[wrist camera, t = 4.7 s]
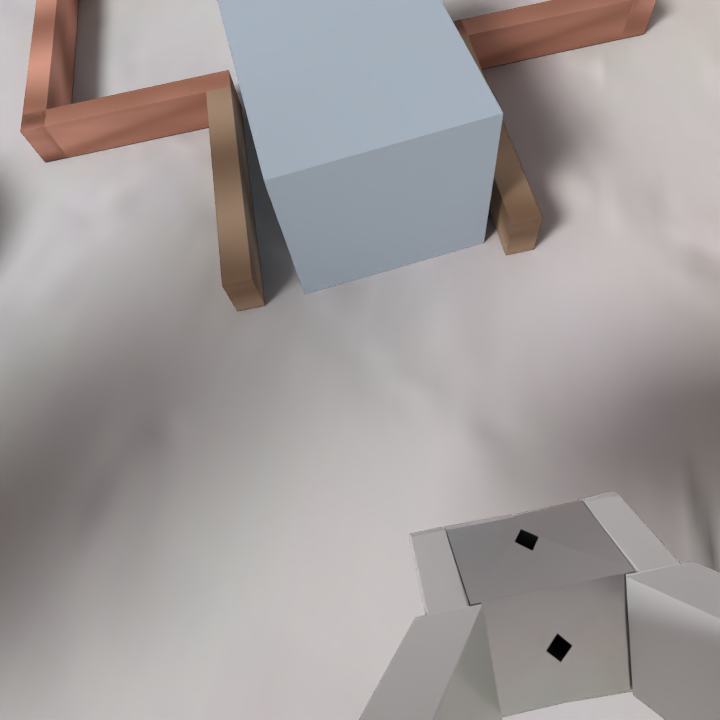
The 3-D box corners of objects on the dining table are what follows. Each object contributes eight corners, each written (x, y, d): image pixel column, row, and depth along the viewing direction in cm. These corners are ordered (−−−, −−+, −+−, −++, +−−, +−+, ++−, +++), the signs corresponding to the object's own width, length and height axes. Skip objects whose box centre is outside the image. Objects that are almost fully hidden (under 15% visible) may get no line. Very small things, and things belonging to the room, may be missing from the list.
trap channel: (750, 204, 24) (776, 169, 22) (27, 355, 24) (-5, 332, 23) (519, -167, 38) (524, -206, 36) (66, -66, 39) (48, -100, 37)
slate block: (483, 245, 25) (503, 113, 18) (305, 296, 25) (264, 180, 18) (402, 68, 30) (396, -82, 24) (255, 109, 30) (209, -31, 24)
